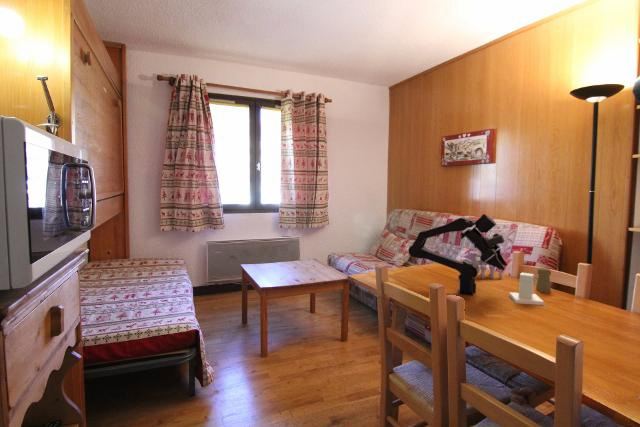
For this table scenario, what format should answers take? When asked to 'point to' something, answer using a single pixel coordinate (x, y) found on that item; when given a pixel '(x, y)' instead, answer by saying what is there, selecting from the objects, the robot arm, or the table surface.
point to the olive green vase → (543, 280)
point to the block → (526, 285)
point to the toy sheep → (482, 264)
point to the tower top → (533, 300)
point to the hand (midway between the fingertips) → (505, 267)
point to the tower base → (525, 304)
